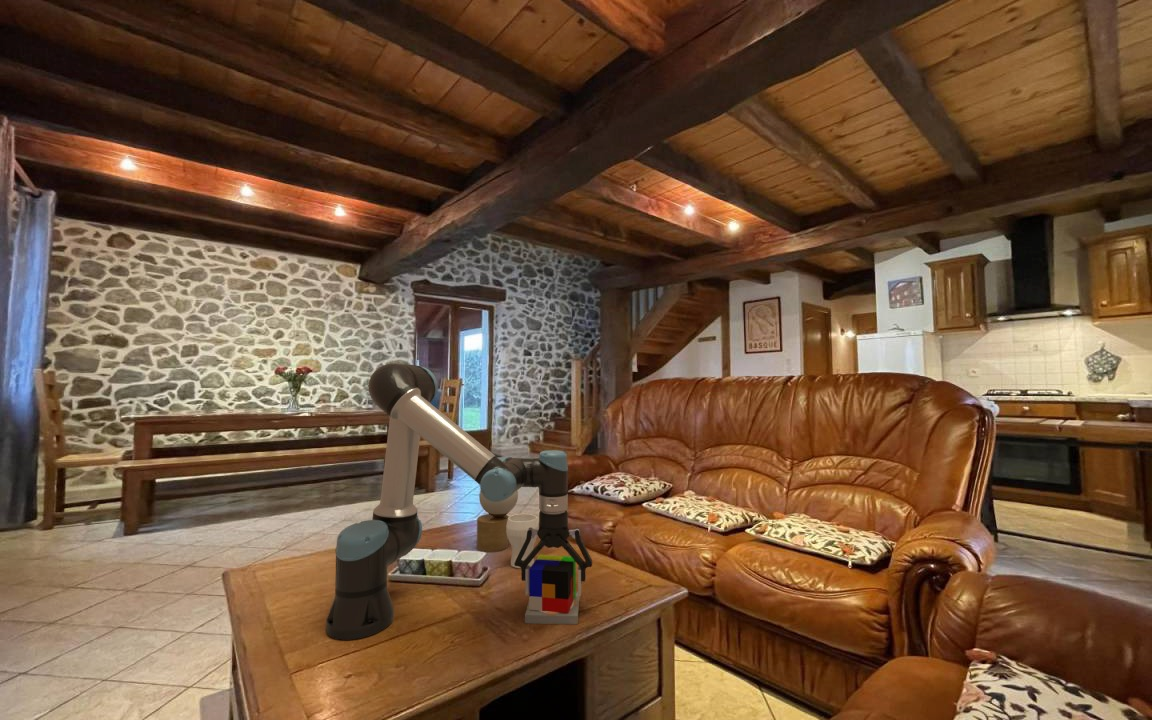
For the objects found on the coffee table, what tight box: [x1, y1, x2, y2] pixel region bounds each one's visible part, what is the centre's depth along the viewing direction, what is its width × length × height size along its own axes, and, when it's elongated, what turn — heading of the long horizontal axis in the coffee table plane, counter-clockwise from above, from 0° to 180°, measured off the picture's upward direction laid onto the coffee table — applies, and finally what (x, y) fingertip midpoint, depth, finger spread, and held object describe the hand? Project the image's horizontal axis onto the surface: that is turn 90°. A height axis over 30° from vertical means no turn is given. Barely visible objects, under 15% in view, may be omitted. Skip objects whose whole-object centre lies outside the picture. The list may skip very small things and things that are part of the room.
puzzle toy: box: [528, 554, 577, 613], centre depth 119 cm, size 10×10×10 cm
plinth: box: [524, 591, 580, 625], centre depth 119 cm, size 13×13×2 cm
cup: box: [506, 513, 539, 569], centre depth 151 cm, size 11×11×15 cm
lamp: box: [476, 489, 519, 553], centre depth 168 cm, size 15×14×25 cm
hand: (553, 593), depth 119 cm, fingers open, 13 cm apart
